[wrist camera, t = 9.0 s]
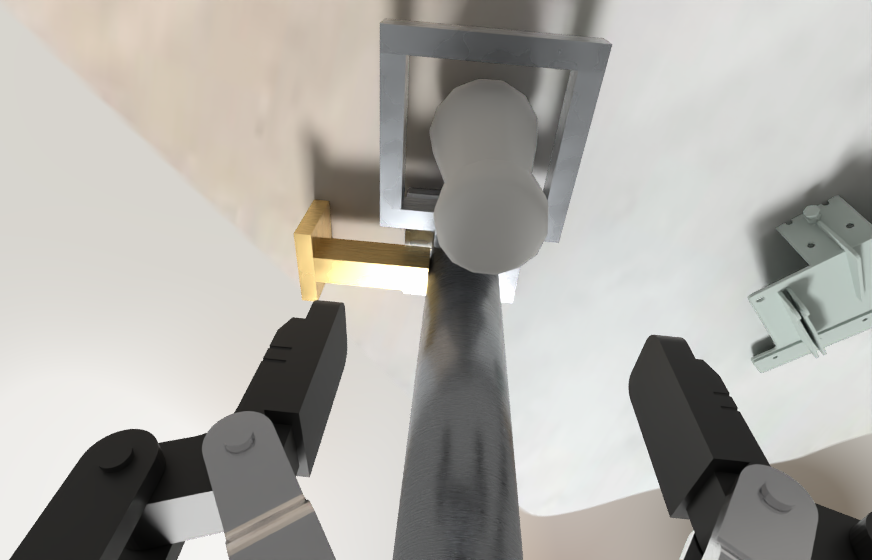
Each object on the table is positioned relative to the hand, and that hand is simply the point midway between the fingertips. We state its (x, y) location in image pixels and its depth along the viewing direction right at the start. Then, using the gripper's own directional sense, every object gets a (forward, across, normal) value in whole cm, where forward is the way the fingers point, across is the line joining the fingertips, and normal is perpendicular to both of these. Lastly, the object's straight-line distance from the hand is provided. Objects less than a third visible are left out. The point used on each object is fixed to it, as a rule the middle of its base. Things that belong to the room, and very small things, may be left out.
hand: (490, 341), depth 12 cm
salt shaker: (+18, 0, 0) cm, 18 cm away
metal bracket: (+19, -25, +8) cm, 33 cm away
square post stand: (+18, +3, +3) cm, 19 cm away
